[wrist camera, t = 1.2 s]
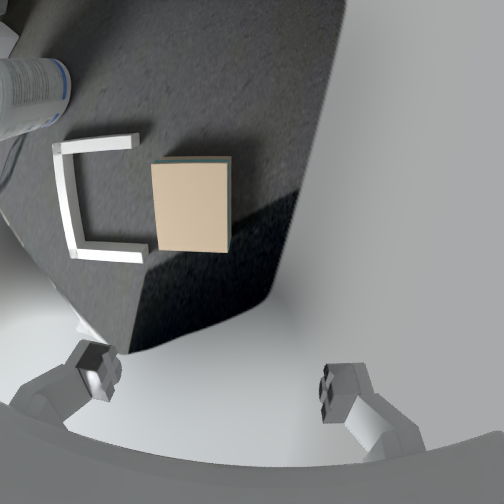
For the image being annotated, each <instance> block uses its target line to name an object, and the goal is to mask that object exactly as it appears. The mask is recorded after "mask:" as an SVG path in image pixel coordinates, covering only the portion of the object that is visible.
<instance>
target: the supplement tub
mask: <svg viewBox="0 0 504 504" xmlns="http://www.w3.org/2000/svg"><path fill="white" fill-rule="evenodd" d="M70 93H71V79H70V74H69V72H68V70H67V68H66V67H65V65H64V64H63V63H62V62H60V61H58V60H56V59H52V58H3V59H0V141H2V140H4V139H7V138H10V137H13V136H16V135H19V134H22V133H26V132H29V131H32V130H35V129H39V128H42V127H46V126H49V125H51V124H53V123H54V122H56V121H57V120H58V119H59V118H60V117H61V115H62V114H63V113H64V111H65V109H66V107H67V105H68V102H69V99H70Z"/></svg>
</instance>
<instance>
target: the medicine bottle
mask: <svg viewBox="0 0 504 504" xmlns="http://www.w3.org/2000/svg"><path fill="white" fill-rule="evenodd" d="M18 39H19V35H17V34H16V33H15V32H14V31H12V30H11V29H10V28H9V27H8V26H6V25H5V24H4V23H3V22H1V21H0V59H3V58H8V57H9V55H10V53H11V51H12V49H13V48H14V46H15V44H16V42H17V41H18Z"/></svg>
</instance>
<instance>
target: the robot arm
mask: <svg viewBox="0 0 504 504" xmlns="http://www.w3.org/2000/svg"><path fill="white" fill-rule="evenodd" d="M116 355H117V350H116V347H115V346H112V345H107V344H103V343H98V342H93V341H88V340H84V339H83V340H81V341H79V343H78V345H77V346H76V347H75V349H74V350H73V352H72V353H71V355H70V357H69V358H68V360H67V361H66V363H65V365H63V364H61V365H59V366H57V367H55V368H53V369H51V370H50V371H48V372H46V373H44V374H42V375H40V376H38V377H37V378H35V379H33V380H31V381H29V382H27V383H25V384H23V385H22V386H20V388H19V390H18V391H17V393H16V394H15V396H14V397H13V399H12V401H11V402H10V404H9V405H6V404H4V403H2V402H0V504H504V433H503V432H502V431H493V432H490V433H487V434H484V435H482V436H479V437H475V438H472V439H469V440H466V441H463V442H460V443H456V444H452V445H449V446H445V447H442V448H438V449H434V450H430V451H426V449H425V446H424V443H423V440H422V437H421V434H420V431H419V428H418V426H417V425H416V424H414V423H413V422H412V421H411V420H409V419H408V418H407V417H406V416H404V415H403V414H402V413H401V412H400V411H398V410H397V409H396V408H395V407H394V406H392V405H391V404H390V403H389V402H387V401H386V400H385V399H384V398H383V397H381V396H380V395H379V394H375V393H374V390H373V387H372V384H371V381H370V378H369V375H368V371H367V369H366V365H365V364H364V363H338V364H326V365H325V367H324V370H323V372H324V377H322V378H321V381H320V384H319V399H320V402H321V403H322V404H323V405H322V409H321V414H322V421H323V423H324V424H325V423H344V425H345V426H346V427H347V428H348V429H349V431H350V432H351V433H352V434H353V435H354V436H355V438H356V439H357V440H358V441H359V442H360V443H361V444H362V446H363V447H364V448H365V449H366V450H367V452H368V454H367V455H366V457H365V458H364V459H363V461H362V462H361V463H354V464H344V465H332V466H315V467H252V466H236V465H224V464H213V463H204V462H197V461H190V460H183V459H176V458H171V457H165V456H160V455H154V454H150V453H145V452H141V451H136V450H132V449H128V448H123V447H120V446H116V445H112V444H109V443H105V442H102V441H98V440H95V439H92V438H88V437H85V436H82V435H79V434H76V433H73V432H70V431H68V429H67V428H66V426H65V425H64V424H63V421H65V420H66V419H67V418H69V417H70V416H71V415H72V414H74V413H75V412H76V411H78V410H79V409H80V408H81V407H83V406H84V405H85V404H86V403H88V402H89V401H90V400H91V399H92V398H93V399H97V400H102V401H106V402H110V400H111V398H112V396H113V393H114V391H115V389H114V386H113V385H115V384H116V383H118V382H119V380H120V377H121V372H122V367H121V362H120V360H118V358H117V357H116Z"/></svg>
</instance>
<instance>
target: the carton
mask: <svg viewBox="0 0 504 504" xmlns="http://www.w3.org/2000/svg"><path fill="white" fill-rule="evenodd" d="M151 169H152V183H153V196H154V207H155V218H156V227H157V236H158V245H159V250H175V251H200V252H224V253H228V250H229V246H230V240H231V156H178V157H162V158H161V159H159V160H156V161H155V162H153V164H151Z"/></svg>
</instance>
